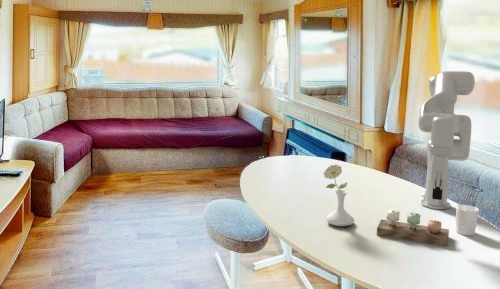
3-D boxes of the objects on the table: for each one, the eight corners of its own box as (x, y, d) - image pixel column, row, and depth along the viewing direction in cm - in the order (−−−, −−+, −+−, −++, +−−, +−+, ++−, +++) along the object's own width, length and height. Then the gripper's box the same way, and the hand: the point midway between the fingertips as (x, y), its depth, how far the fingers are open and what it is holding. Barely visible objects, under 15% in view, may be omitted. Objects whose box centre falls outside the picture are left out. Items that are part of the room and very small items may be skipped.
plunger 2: (405, 231, 166) (406, 214, 164) (407, 227, 170) (408, 211, 168) (418, 233, 164) (419, 216, 162) (419, 229, 168) (420, 212, 166)
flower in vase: (352, 219, 185) (355, 161, 180) (355, 229, 174) (358, 168, 169) (321, 218, 186) (323, 161, 181) (322, 228, 175) (324, 167, 170)
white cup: (464, 237, 166) (466, 212, 164) (449, 229, 173) (451, 205, 172) (481, 235, 168) (483, 210, 166) (466, 227, 175) (468, 204, 174)
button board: (376, 235, 168) (377, 227, 167) (380, 226, 177) (381, 219, 176) (447, 246, 157) (448, 238, 157) (448, 236, 166) (448, 229, 166)
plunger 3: (426, 239, 163) (427, 222, 162) (427, 234, 167) (428, 218, 166) (439, 241, 161) (441, 224, 160) (440, 237, 165) (441, 220, 164)
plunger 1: (385, 228, 169) (386, 211, 167) (387, 224, 173) (388, 208, 172) (397, 230, 167) (398, 213, 166) (399, 226, 171) (400, 210, 170)
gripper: (431, 145, 166) (427, 191, 170) (428, 153, 153) (424, 203, 156) (452, 147, 163) (448, 194, 166) (452, 155, 149) (447, 206, 153)
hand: (436, 198), depth 161 cm, fingers closed
